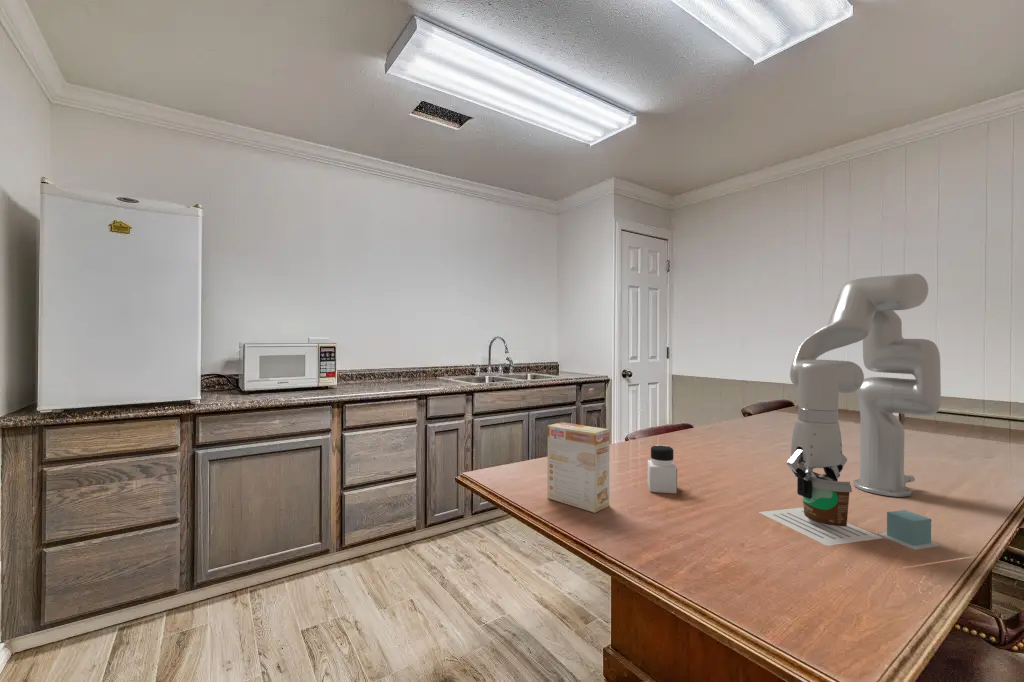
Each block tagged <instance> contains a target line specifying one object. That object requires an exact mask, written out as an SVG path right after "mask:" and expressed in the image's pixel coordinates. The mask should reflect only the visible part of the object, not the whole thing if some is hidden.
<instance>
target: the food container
mask: <svg viewBox="0 0 1024 682" xmlns="http://www.w3.org/2000/svg"><path fill="white" fill-rule="evenodd" d="M805 471H806V468H804V469H803V472H804V473H805ZM809 480H811V481H812V498H806V497H803V496H802V503H803V505H802V506H803V507H804V514H805V516H806V517H807V518H809V519H811V520H813V521H816V522H819V523H823V524H827V525H833V526H847V523H848V513H849V504H850V503H849V501H850V493H852V492H853V490H852V489H853V487H852V485H851V481H839V480H838V481H836V480H835V479H833V478H831V477H829V476H826V475H823V474H822V473H818V472H815V471H812V473H811V476H810V479H809Z"/></svg>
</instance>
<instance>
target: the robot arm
mask: <svg viewBox="0 0 1024 682" xmlns="http://www.w3.org/2000/svg"><path fill="white" fill-rule="evenodd" d="M928 295H929V284H928V282H927V280H926V278H925V277H924V276H923V275H921V274H920V273H905V274H903V273H902V274H894V275H881V276H880V275H879V276H869V277H861V278H857V279H856V278H855V279H853V280H850V281H848V282H845V284H843V285H842V286H841V288H840V290H839V293H838V295H837V298H836V300H835V303H834V306H833V309H832V312H831V315H830V317H829V321H828V323H827V324H825V325H824V326H822V327H820V328H819V329H818V330H816V331H814V332H813V333H812V334H810V335H809V336H808V337H807V338H805V339H804V340H803V341H802V343H800V344H799V346H798V347H797V350H796V352H795V354H794V358H793V360H792V363H791V367H790V371H789V378H790V381H791V383H792V385H793V386H794V387H796V388H798V389H797V393H798V396H797V398H798V401H797V405H798V408H797V411H798V412H797V413H798V414H797V417H798V420H796V421H795V423H794V426H793V430H792V437H791V447H790V458H788V460H787V462H786V465H787V466H788V467H789V468H790V470H791V471H792V473H793V474H794V476H795V477H796V478H797V485H796V486H797V487H796V488H797V490H796V491H797V495H799V496H801V497H802V498H803V497H806V498H812V481H811V480H809V479H810V476H811V473H812V471H813V470H814V469H821V468H822V469H823V472H824V473H823V474H822V475H826V476H829V477H831V478H833V479H835V480H836V481H838V482H839V480H838V479H839V478H840V476H841V474H840V473H841V472H842V471H843V469H844V467H845V465H846V464H847V462H848V458H847V457H846V456H845V455H844V453H843V442H842V434H841V427H840V423H839V394H841V393H842V394H849V393H854V392H856V397H857V403H858V407H859V408H858V409H859V416H860V441H859V442H860V445H859V447H860V451H859V456H860V457H859V461H860V462H859V464H860V465H859V466H860V467H859V472H860V473H859V478H856V479H854V480H852V481H853V482H852V484H853V486H854V487H855V488H857V489H859V490H861V491H863V492H867V493H870V494H875V495H878V496H885V497H897V498H903V497H910V496H911V495H912V490H911V489H910V487H908V486H906V484H907V483H914V482H915V480H916V479H915V477H914V476H913V475H912V474H908V475H907V474H905V428H904V425H903V424H902V423H901V421H900V420H899V419H898V418H897V416H896V415H895V414H905V415H912V416H922V417H923V416H927V417H930V416H934V415H936V414H937V413H938V412H939V410H940V406H941V401H942V400H941V399H942V398H941V397H942V396H941V395H942V391H941V390H942V389H941V387H942V386H941V385H942V384H941V380H942V379H941V354H940V350H939V347H938V345H937V344H936V343H935V342H933V341H932V340H930V339H925V338H924V339H923V338H905V337H903V333H902V332H903V331H902V330H903V327H902V326H903V325H902V319H901V317H900V316H899V315H898V313H897V312H896V311H905V310H911V309H914V308H917V307H919V306H921V305H923V303H925V301H926V300H927V297H928ZM861 341H862V358H863V359H862V360H863V365H864V367H865V369H867V370H869V371H871V372H875V373H885V374H886V373H887V374H888V373H889V374H901V375H903V374H904V375H913V376H914V378H915V379H913V378H899V377H885V376H872V377H866V378H865V374H864V372H863V369H862V368H861V366H860V365H858V363H855V362H852V361H849V360H839V359H838V360H833V359H818V358H819V357H820V356H822V355H824V354H825V353H829V352H830V351H833V350H835V349H840V348H843V347H846V346H849V345H853V344H855V343H858V342H861ZM804 468H806V471H805V473H804V472H803V469H804ZM813 472H814V471H813Z"/></svg>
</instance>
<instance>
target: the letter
mask: <svg viewBox="0 0 1024 682" xmlns="http://www.w3.org/2000/svg"><path fill="white" fill-rule="evenodd" d="M758 513H759V514H761V515H763V516H765V517H767V518H769V519H771V520H774V521H775V522H777V523H780V524H782V525H783V526H786V527H788V529H789V528H790V529H791V530H794V531H796V532H798V533H799V534H802V535H804V536H806V537H809V538H810V539H812V540H814V541H816V542H818V543H820V544H822V545H824V546H826V547H827V546H835V545H843V544H849V543H850V544H851V543H860V542H864V541H873V540H874V541H875V540H880V539H883V537H882V536H879V535H878V534H874V533H872V532H870V531H868V530H865V529H863V528H861V527H858V526H855V525H853V524H851V523H849V522H847V526H833V525H827V524H823V523H819V522H816V521H813V520H811V519H809V518H807V517H806V516H805V514H804V506H803V507H795V508H786V509H785V508H784V509H776V510H768V511H767V510H766V511H765V510H764V511H758Z"/></svg>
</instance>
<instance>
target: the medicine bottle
mask: <svg viewBox="0 0 1024 682" xmlns="http://www.w3.org/2000/svg"><path fill="white" fill-rule="evenodd" d="M647 486H648V489H649V492H650V493H658V494H659V493H661V494H674V495H677V494H678V467H677V465H676V463H674V448H673V447H671V446H668V445H663V444H655V445H652V446H651V447H650V459H648V460H647Z"/></svg>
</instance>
